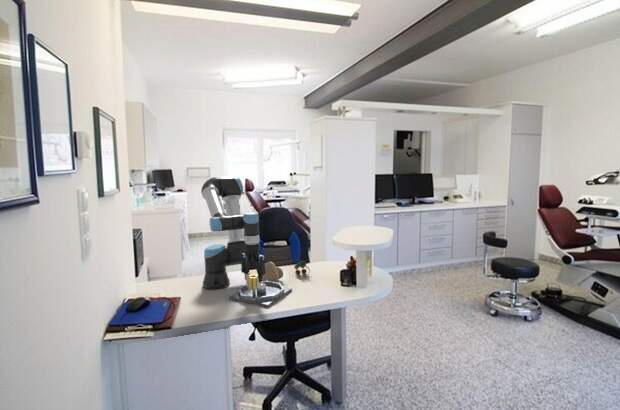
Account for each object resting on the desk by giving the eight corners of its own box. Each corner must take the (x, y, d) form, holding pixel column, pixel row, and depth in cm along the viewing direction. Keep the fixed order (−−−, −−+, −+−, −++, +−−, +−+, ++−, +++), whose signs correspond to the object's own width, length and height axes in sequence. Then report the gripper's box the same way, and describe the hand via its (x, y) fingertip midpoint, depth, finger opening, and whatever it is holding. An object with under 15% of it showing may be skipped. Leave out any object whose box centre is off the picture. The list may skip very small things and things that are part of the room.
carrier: (229, 299, 174) (228, 287, 173) (256, 284, 196) (255, 273, 195) (267, 307, 164) (267, 295, 163) (291, 290, 185) (291, 279, 184)
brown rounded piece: (272, 288, 206) (287, 278, 198) (262, 290, 200) (277, 279, 192) (265, 268, 212) (279, 257, 204) (255, 269, 206) (269, 258, 198)
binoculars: (308, 277, 213) (305, 262, 217) (313, 273, 205) (309, 257, 209) (294, 279, 209) (291, 264, 213) (299, 275, 202) (295, 259, 206)
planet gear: (252, 284, 177) (252, 273, 176) (262, 286, 174) (261, 275, 173) (245, 288, 171) (245, 277, 171) (255, 290, 169) (254, 278, 168)
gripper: (232, 243, 171) (234, 286, 174) (263, 246, 163) (265, 292, 165) (241, 240, 178) (243, 282, 180) (271, 243, 169) (273, 287, 172)
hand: (253, 286), depth 173 cm, fingers closed on planet gear, 6 cm apart
